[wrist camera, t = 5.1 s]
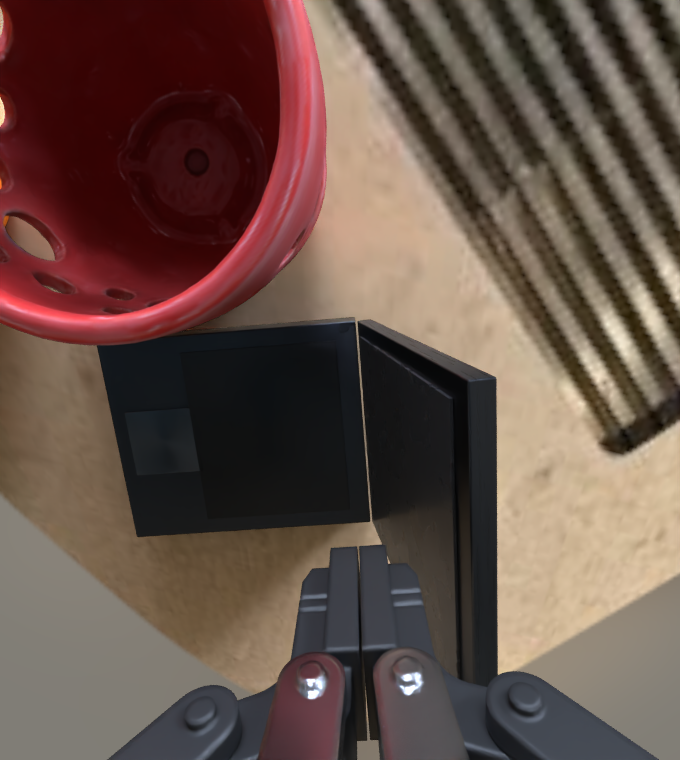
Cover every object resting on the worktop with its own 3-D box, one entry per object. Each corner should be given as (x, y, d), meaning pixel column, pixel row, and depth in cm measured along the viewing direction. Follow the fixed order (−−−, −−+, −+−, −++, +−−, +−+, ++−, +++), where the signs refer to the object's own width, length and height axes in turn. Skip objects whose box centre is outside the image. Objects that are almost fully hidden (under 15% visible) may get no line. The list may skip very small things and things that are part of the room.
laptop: (149, 520, 28) (135, 538, 26) (113, 336, 25) (94, 342, 23) (369, 505, 27) (370, 523, 26) (354, 316, 25) (355, 321, 23)
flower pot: (219, -44, 21) (61, -424, 9) (386, 208, 23) (424, 155, 12) (13, 143, 23) (-328, 21, 11) (186, 358, 25) (51, 438, 14)
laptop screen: (472, 761, 13) (499, 755, 13) (463, 381, 11) (497, 376, 11) (370, 522, 26) (384, 520, 26) (355, 320, 23) (371, 319, 23)
